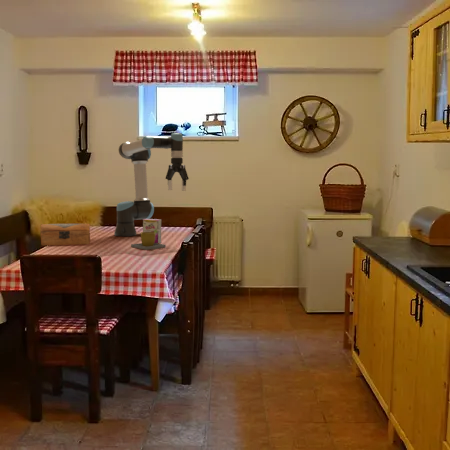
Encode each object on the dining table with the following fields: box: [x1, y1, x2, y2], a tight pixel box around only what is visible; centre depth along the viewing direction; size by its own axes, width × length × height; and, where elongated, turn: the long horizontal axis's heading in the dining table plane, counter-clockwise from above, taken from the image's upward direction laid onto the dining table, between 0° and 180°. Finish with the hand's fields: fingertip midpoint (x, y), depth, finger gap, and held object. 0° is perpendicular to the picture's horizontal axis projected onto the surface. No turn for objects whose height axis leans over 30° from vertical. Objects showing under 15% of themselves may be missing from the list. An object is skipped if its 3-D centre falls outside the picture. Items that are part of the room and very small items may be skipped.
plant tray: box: [130, 242, 167, 251], centre depth 375 cm, size 15×15×2 cm
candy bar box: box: [142, 218, 162, 244], centre depth 392 cm, size 11×5×16 cm, turn 71°
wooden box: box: [39, 223, 91, 246], centre depth 385 cm, size 30×16×14 cm, turn 103°
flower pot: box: [140, 231, 155, 247], centre depth 374 cm, size 9×9×9 cm
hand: (176, 190), depth 395 cm, fingers open, 13 cm apart
